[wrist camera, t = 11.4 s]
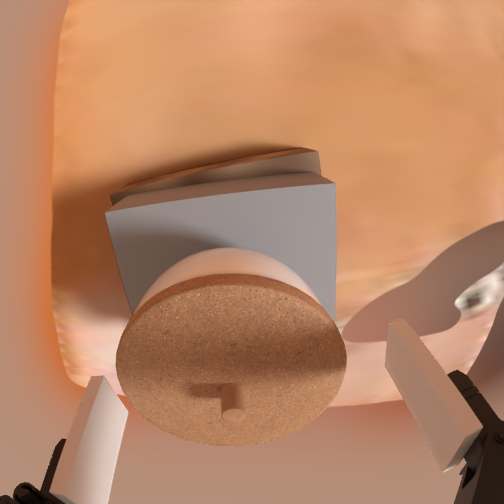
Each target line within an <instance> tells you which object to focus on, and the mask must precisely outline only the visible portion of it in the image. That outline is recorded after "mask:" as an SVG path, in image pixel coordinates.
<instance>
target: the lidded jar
mask: <svg viewBox="0 0 504 504" xmlns="http://www.w3.org/2000/svg"><path fill="white" fill-rule="evenodd" d="M346 360H347V355H346V350H345V345H344V342H343V339H342V337H341V335H340V332H339V330H338V328H337V326H336V324H335V323H334V321H333V320H332V318H331V317H330V316H329V314H328V313H327V312H326V310H325V309H324V307H323V305H322V304H321V302H320V301H319V299H318V298H317V296H316V295H315V294H314V292H313V291H312V289H311V288H310V287H309V286H308V285H307V283H306V282H305V281H304V280H303V279H302V278H301V277H300V276H299V275H297V274H296V273H295V272H294V271H293V270H292V269H290V268H289V267H288V266H286V265H285V264H283V263H282V262H280V261H279V260H277V259H275V258H273V257H271V256H268V255H266V254H264V253H261V252H257V251H253V250H249V249H242V248H216V249H211V250H205V251H201V252H199V253H196V254H193V255H190V256H188V257H186V258H184V259H182V260H180V261H178V262H177V263H175V264H174V265H173V266H171V267H170V268H169V269H168V270H166V271H165V272H164V273H163V274H162V275H160V276H159V278H158V279H157V280H156V281H155V282H154V283H153V284H152V285H151V287H150V288H149V289H148V291H147V292H146V293H145V295H144V296H143V298H142V300H141V301H140V303H139V305H138V307H137V309H136V311H135V313H134V315H133V316H132V318H131V319H130V321H129V323H128V324H127V326H126V328H125V330H124V332H123V334H122V336H121V339H120V342H119V346H118V349H117V353H116V370H117V376H118V380H119V382H120V385H121V387H122V390H123V392H124V394H125V395H126V397H127V398H128V400H129V401H130V403H131V404H132V405H133V406H134V408H135V409H136V410H137V411H138V412H139V413H140V414H141V415H142V416H143V417H145V418H146V419H147V420H148V421H149V422H151V423H152V424H154V425H155V426H157V427H158V428H160V429H162V430H164V431H166V432H168V433H170V434H172V435H175V436H178V437H180V438H183V439H185V440H189V441H193V442H197V443H202V444H208V445H215V446H244V445H251V444H258V443H262V442H267V441H271V440H274V439H277V438H280V437H283V436H285V435H288V434H290V433H292V432H294V431H296V430H298V429H300V428H302V427H303V426H305V425H306V424H308V423H309V422H311V421H312V420H313V419H315V418H316V417H317V416H318V415H320V414H321V413H322V412H323V411H324V410H325V408H327V406H328V405H329V404H330V403H331V402H332V400H333V399H334V397H335V396H336V395H337V393H338V391H339V388H340V386H341V384H342V382H343V379H344V375H345V371H346Z"/></svg>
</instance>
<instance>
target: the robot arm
mask: <svg viewBox="0 0 504 504" xmlns="http://www.w3.org/2000/svg"><path fill="white" fill-rule="evenodd" d="M385 367H386V369H387V371H388V372H389V374H390V376H391V378H392V379H393V381H394V383H395V385H396V386H397V388H398V390H399V392H400V393H401V395H402V397H403V399H404V401H405V402H406V404H407V406H408V408H409V410H410V411H411V413H412V415H413V417H414V419H415V420H416V423H417V424H418V426H419V428H420V430H421V432H422V434H423V436H424V438H425V439H426V441H427V443H428V445H429V447H430V449H431V451H432V453H433V455H434V457H435V459H436V461H437V463H438V464H439V467H440V469H441V471H442V472H445V471H447V470H449V469H451V468H453V467H455V466H457V465H458V464H459V463H460V462H461V460H462V459H463V458H464V459H465V461H466V462H467V463H466V465H465V466H464V467H463V469H462V470H461V472H460V475H462V474H463V476H462V480H461V483H460V486H459V490H458V492H457V496H456V499H455V501H454V504H504V421H502V420H500V419H499V418H498V416H497V415H496V414H495V412H494V411H493V410H492V408H491V407H490V405H489V404H488V403H487V401H486V400H485V399H484V397H483V396H482V394H481V393H479V390H478V389H477V388H476V387H475V386H474V384H473V383H472V381H471V380H470V379H469V377H468V376H467V375H465V374H464V373H462V372H460V371H459V370H456V371H453V372H451V373H449V374H446V373H445V371H444V370H443V369H442V367H441V366H440V364H439V363H438V362H437V360H436V359H435V358H434V356H433V355H432V354H431V353H430V351H429V350H428V349H427V347H426V346H425V345H424V343H423V342H422V341H421V340H420V338H419V337H418V336H417V334H416V333H415V332H414V331H413V329H412V328H411V327H410V326H409V324H408V323H407V322H406V321H405V319H404V318H401V319H398V320H394V321H391V322H388V336H387V347H386V358H385ZM127 416H128V411H127V409H126V408H125V406H124V405H123V404H122V402H121V401H120V399H119V398H118V396H117V395H116V393H115V392H114V390H113V389H112V387H111V386H110V384H109V382H108V381H107V379H106V378H105V376H91V379H90V381H89V383H88V386H87V388H86V391H85V393H84V395H83V398H82V401H81V403H80V405H79V408H78V410H77V413H76V415H75V418H74V421H73V423H72V426H71V429H70V432H69V434H68V437H67V439H61V440H60V442H59V443H58V444H57V445H56V447H55V449H54V452H53V455H52V458H51V460H50V465H49V466H48V469H47V472H46V475H45V478H44V481H43V484H42V487H41V490H40V491H39V490H38V489H36V488H35V487H34V486H32V485H31V484H30V483H26V482H24V483H20V484H19V485H18V486H17V487H16V488H15V490H14V493H13V499H12V498H11V497H9V496H8V495H3V496H0V504H108V501H109V495H110V491H111V486H112V481H113V476H114V471H115V466H116V462H117V457H118V453H119V449H120V444H121V440H122V436H123V431H124V427H125V424H126V420H127ZM463 472H464V473H463Z"/></svg>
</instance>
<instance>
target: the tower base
mask: <svg viewBox="0 0 504 504" xmlns="http://www.w3.org/2000/svg"><path fill="white" fill-rule="evenodd" d="M306 172H315V173H317V174H318V175H320V176H322V175H321V168H320V161H319V154H318V151H315V150H311V149H307V148H298V149H291V150H285V151H279V152H273V153H267V154H261V155H256V156H250V157H245V158H239V159H234V160H229V161H224V162H219V163H215V164H210V165H205V166H201V167H196V168H192V169H188V170H183V171H179V172H175V173H171V174H167V175H163V176H159V177H155V178H151V179H147V180H143V181H140V182H136V183H132V184H129V185H126V186H124V187H123V188H121V189H119V190H118V191H116V192H114V193H113V194H111V195H110V198H111V201H112V205H113V206H114V205H115V204H117V203H118V202H119V201H121V200H122V199H123V198H125V197H126V196H128V195H132V194H138V193H144V192H150V191H156V190H162V189H168V188H175V187H182V186H188V185H195V184H203V183H210V182H218V181H226V180H234V179H243V178H252V177H261V176H271V175H282V174H293V173H306Z"/></svg>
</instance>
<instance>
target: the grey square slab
mask: <svg viewBox="0 0 504 504" xmlns="http://www.w3.org/2000/svg"><path fill="white" fill-rule="evenodd" d="M105 216H106V221H107V225H108V229H109V234H110V238H111V242H112V246H113V250H114V254H115V258H116V261H117V265H118V269H119V272H120V276H121V279H122V283H123V286H124V289H125V293H126V296H127V299H128V302H129V306H130V309H131V312H132V315H134V313H135V311H136V309H137V307H138V305H139V303H140V301H141V300H142V298H143V296H144V295H145V293H146V292H147V291H148V289H149V288H150V287H151V285H152V284H153V283H154V282H155V281H156V280H157V279H158V278H159V276H160V275H162V274H163V273H164V272H165V271H166V270H168V269H169V268H170V267H171V266H173V265H174V264H175V263H177V262H178V261H180V260H182V259H184V258H186V257H188V256H190V255H193V254H196V253H199V252H201V251H205V250H211V249H216V248H242V249H249V250H253V251H257V252H261V253H264V254H266V255H268V256H271V257H273V258H275V259H277V260H279V261H280V262H282V263H283V264H285V265H286V266H288V267H289V268H290V269H292V270H293V271H294V272H295V273H296V274H297V275H299V276H300V277H301V278H302V279H303V280H304V281H305V282H306V283H307V285H308V286H309V287H310V288H311V289H312V291H313V292H314V294H315V295H316V296H317V298H318V299H319V301H320V302H321V304H322V305H323V307H324V309H325V310H326V312H327V313H328V314H329V316H330V317H331V318H332V320H333V321H334V322H335V299H336V255H337V227H336V183H334V182H332V181H330V180H328V179H326V178H324V177H322V176H320V175H318V174H317V173H315V172H306V173H293V174H282V175H271V176H261V177H252V178H243V179H234V180H226V181H218V182H210V183H203V184H195V185H188V186H182V187H175V188H168V189H162V190H156V191H150V192H144V193H138V194H132V195H128V196H126V197H125V198H123V199H122V200H121V201H119V202H118V203H117V204H115V205H114V206H113V207H111V208H110V209H109V210H107V211H106V212H105Z"/></svg>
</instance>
